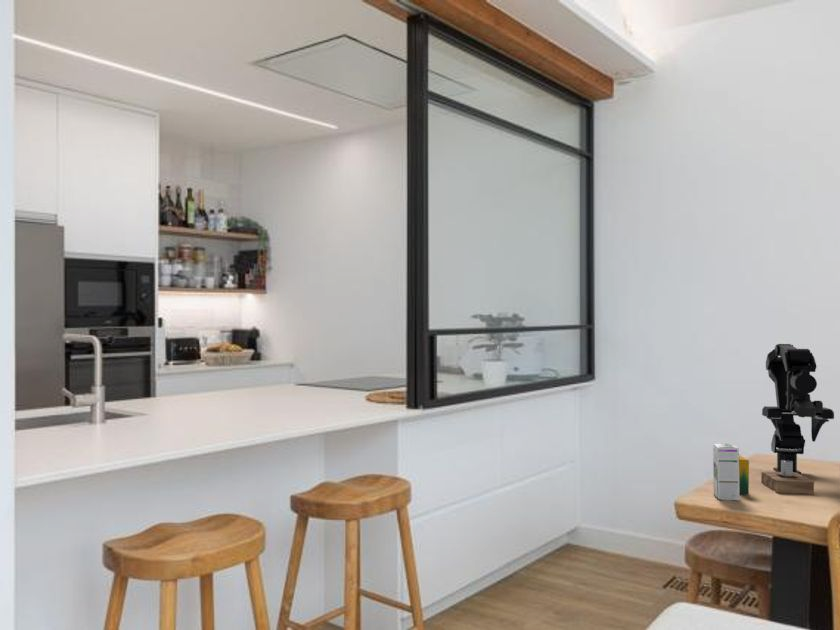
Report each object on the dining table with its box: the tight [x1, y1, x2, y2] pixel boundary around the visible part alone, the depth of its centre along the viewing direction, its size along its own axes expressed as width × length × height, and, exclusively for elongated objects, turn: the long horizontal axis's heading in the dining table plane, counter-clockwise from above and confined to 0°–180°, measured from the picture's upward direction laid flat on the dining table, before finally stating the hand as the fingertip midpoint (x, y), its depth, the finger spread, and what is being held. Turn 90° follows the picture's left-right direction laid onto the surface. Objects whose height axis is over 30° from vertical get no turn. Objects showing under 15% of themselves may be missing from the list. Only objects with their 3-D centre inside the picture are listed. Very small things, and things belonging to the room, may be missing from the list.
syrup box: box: [712, 443, 740, 502], centre depth 192 cm, size 6×6×14 cm
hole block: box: [760, 470, 815, 495], centre depth 203 cm, size 12×10×4 cm
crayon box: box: [739, 455, 750, 495], centre depth 199 cm, size 7×3×12 cm, turn 173°
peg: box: [781, 460, 793, 478], centre depth 203 cm, size 3×3×8 cm
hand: (797, 440), depth 212 cm, fingers open, 9 cm apart
